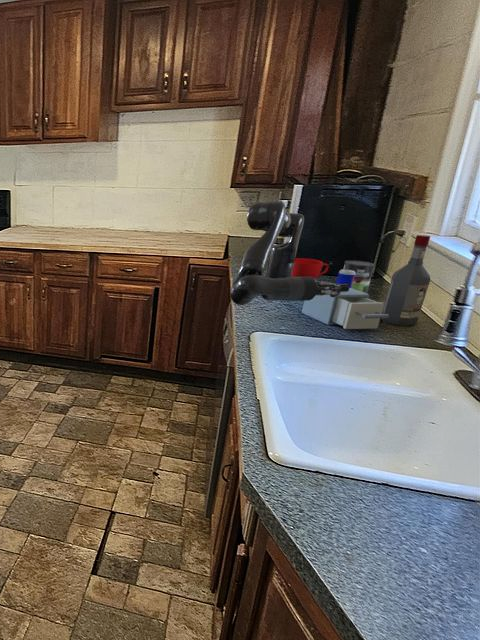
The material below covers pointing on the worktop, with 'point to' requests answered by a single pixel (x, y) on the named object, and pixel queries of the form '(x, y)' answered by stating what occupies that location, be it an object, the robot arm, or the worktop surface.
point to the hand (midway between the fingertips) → (347, 287)
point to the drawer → (357, 312)
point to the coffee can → (360, 274)
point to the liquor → (408, 288)
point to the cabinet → (327, 305)
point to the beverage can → (346, 277)
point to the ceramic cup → (308, 268)
